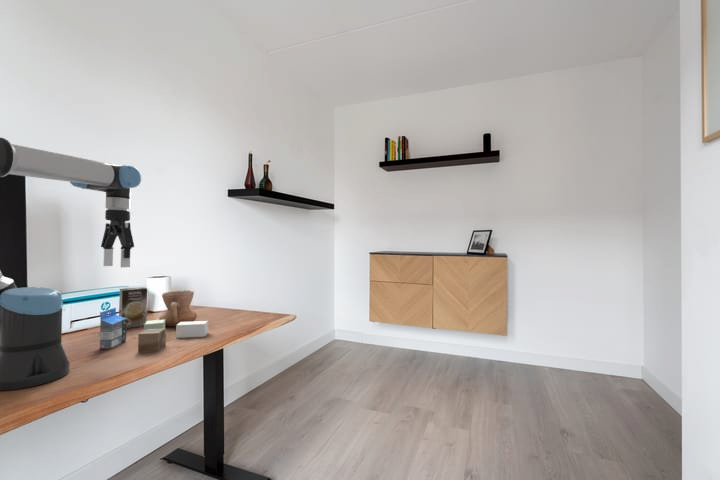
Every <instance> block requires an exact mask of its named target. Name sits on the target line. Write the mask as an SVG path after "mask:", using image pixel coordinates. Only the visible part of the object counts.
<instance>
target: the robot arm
mask: <svg viewBox="0 0 720 480" xmlns="http://www.w3.org/2000/svg"><path fill="white" fill-rule="evenodd" d="M8 175H12V176H13V175H14V176H19V177H20V176H21V177H31V178H38V179H45V180H46V179H47V180H51V181H52V180H54V181H63V182H69V184H71V185H72V186H73V187H76V188H80V189H83V190H89V191H90V190H91V191H96V192H102V193H105V208H106V210H105V212H104V213H105V220H106V221H110V223H109V222H106V223H105V228H104V232H103V237H102V240H101V244H100V247H101V248H102V249H103V267H113V265H114V264H113V263H114V261H113V260H114V249H115V248H114V244H115V241H116V239H117V237H118V240H119V242H120V245H121V247H120V248H119V249H120V268H130V267H131V250H132V248H135V243H134V239H133V235H132V229H131V222H130V221H131V211H130V210H131V205H132V202H131V199H132V198H131V197H132V189H135V188H137V187H138V186H140V184H141V182H142V174H141V171H140V170H139V169H138V168H137V167H135V166H134V165H131V164H130V165H127V164H123V165H117V164H112V163H108V162H103V161H102V162H101V161H97V160H92V159H88V158H83V157H77V156H72V155H69V154H68V155H67V154H63V153H58V152H53V151H48V150H43V149H39V148H38V149H37V148H33V147H29V146H25V145H24V146H23V145H20V144H19V145H17V144H13V143H11V142H10V140H8V139H6V138H5V137H4V138H3V137H0V178H4V177H6V176H8ZM62 297H63V296H62V293H61V292H60V291H59V290H58V289H54V288H49V287H35V286H30V287H29V286H27V287H17V285H16V283H15V280H14V279H13V278H11V277H7V276H5V275H3V273H2V271H1V270H0V391H14V390H19V389H21V390H22V389H26V388H30V387H31V388H32V387H36V386H40V385H43V384H47V383H49V382H53V381H56V380H58V379H60V378H63V377H64V376H66V375H68V374H69V372H70V371H71V370H70V368H71V367H70V361H69V359H68V356H67V354H66V352H65V349H64V347H63V344H62V337H63V336H62V335H63V333H62V332H63V331H62V330H63V327H62V326H63V306H64V303H63V298H62Z"/></svg>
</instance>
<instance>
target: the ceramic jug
mask: <svg viewBox="0 0 720 480" xmlns="http://www.w3.org/2000/svg"><path fill="white" fill-rule="evenodd" d="M194 293H195V292H194V290H191V289H190V290H188V289H187V290H186V289H184V290H181V289H179V290H171V291H167V292H163V293H162V294H161V297H162V300H163V303H164V305H165V307H166V309H167V310H166V311H165V312H163V313H162V314H161V315H160V316H159V318H158V320H164V319H165V326H168V327H176V325H177V324H179V323H180V322H192V321H195V320H196V319H197V316H198V315H197V312H196V311H195V310H194V309H191V308H190V306H191V303H192V301H193V298H194Z"/></svg>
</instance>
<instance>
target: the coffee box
mask: <svg viewBox="0 0 720 480" xmlns="http://www.w3.org/2000/svg"><path fill="white" fill-rule="evenodd" d="M118 303H119V304H118V306H119V307H118V316H121V317H123V318H126V329H130V328H131V327H132V328H138V326H139V327H144V324H145V323H146V322H147V315H148V314H147V313H148V311H147V310H148V309H147V308H148V307H147V306H148V288H146V287H142V286H141V287H129V288H128V287H127V288H119V302H118ZM132 328H131V329H132Z"/></svg>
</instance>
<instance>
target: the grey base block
mask: <svg viewBox="0 0 720 480" xmlns="http://www.w3.org/2000/svg"><path fill="white" fill-rule="evenodd" d="M175 328H176V329H175V338H176V339H178V338H180V339H181V338H182V339H183V338H184V339H185V338H204V337H206V336H207V335H208V334H209V320H199V321H197V320H196V321H195V320H194V321H192V322H180V323H179V324H177V325H176V326H175Z"/></svg>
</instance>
